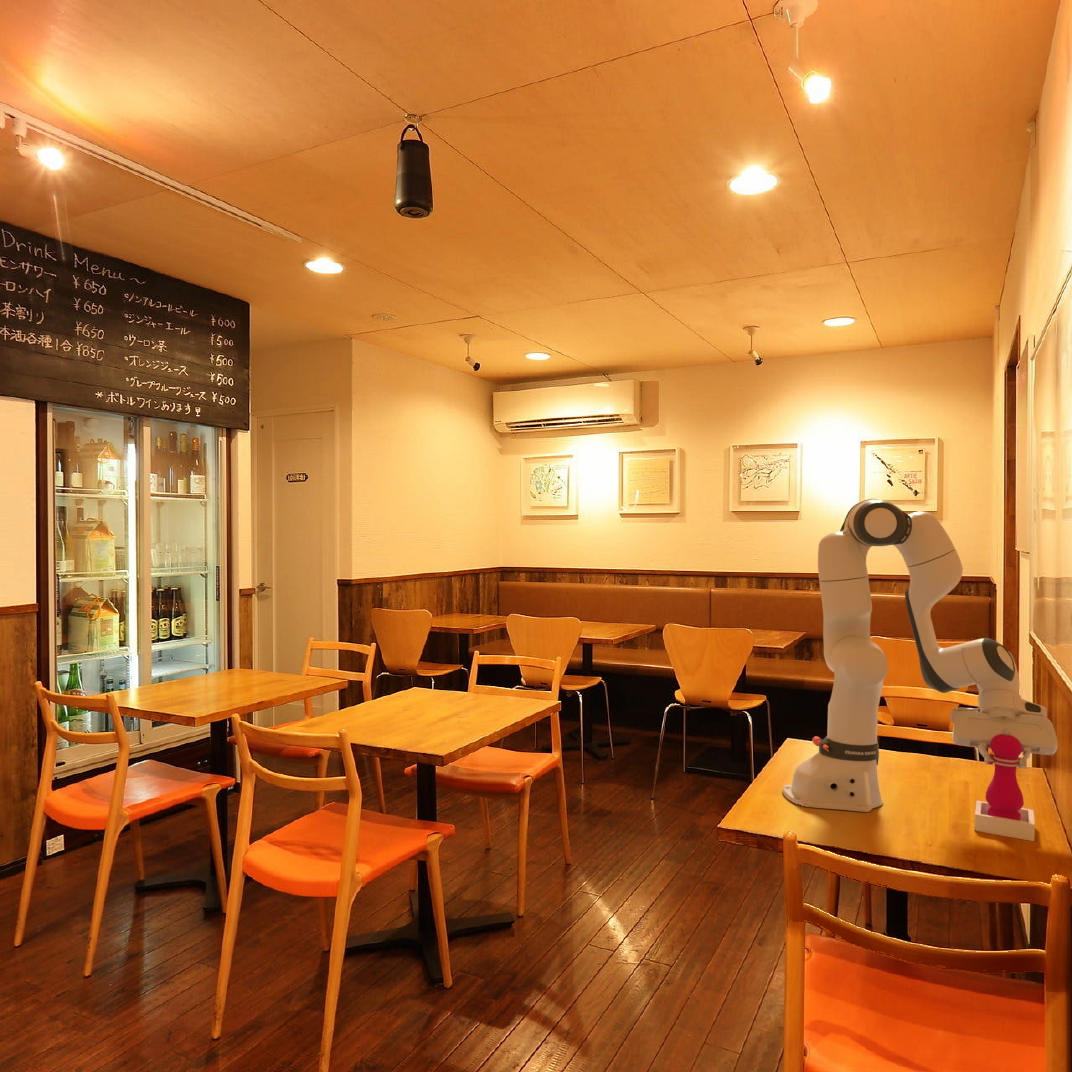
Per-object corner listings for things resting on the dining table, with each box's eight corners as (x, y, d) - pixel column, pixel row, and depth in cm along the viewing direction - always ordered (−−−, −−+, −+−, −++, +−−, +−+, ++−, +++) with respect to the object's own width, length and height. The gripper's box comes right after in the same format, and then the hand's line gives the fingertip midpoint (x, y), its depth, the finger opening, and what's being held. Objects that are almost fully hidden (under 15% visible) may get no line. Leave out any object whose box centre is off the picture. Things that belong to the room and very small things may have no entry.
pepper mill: (1028, 826, 173) (1031, 732, 173) (991, 823, 175) (994, 730, 174) (1015, 815, 180) (1018, 724, 180) (980, 812, 182) (982, 722, 182)
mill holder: (974, 830, 175) (974, 814, 175) (976, 815, 185) (976, 800, 185) (1034, 841, 170) (1034, 824, 170) (1032, 825, 179) (1033, 809, 179)
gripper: (950, 698, 188) (953, 751, 179) (1054, 708, 180) (1062, 763, 171) (948, 714, 192) (951, 766, 183) (1049, 724, 184) (1057, 779, 175)
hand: (1006, 765), depth 177 cm, fingers closed on pepper mill, 5 cm apart
